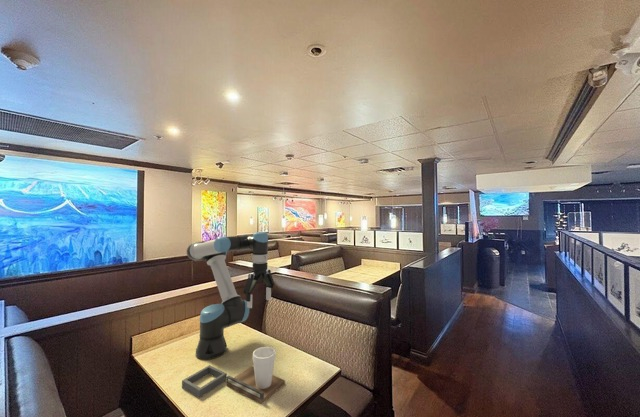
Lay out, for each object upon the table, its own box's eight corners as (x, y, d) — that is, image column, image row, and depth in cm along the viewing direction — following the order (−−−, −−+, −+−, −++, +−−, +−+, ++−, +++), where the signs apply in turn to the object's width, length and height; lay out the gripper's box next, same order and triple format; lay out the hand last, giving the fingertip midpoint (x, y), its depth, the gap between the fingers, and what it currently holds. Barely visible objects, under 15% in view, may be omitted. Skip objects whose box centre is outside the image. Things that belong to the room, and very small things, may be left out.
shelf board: (226, 386, 109) (226, 376, 109) (251, 369, 121) (251, 360, 121) (261, 404, 99) (261, 393, 99) (284, 383, 111) (284, 374, 111)
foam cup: (279, 381, 110) (280, 350, 110) (264, 394, 102) (264, 360, 102) (263, 374, 115) (263, 344, 115) (247, 385, 107) (247, 354, 107)
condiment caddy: (181, 387, 108) (182, 380, 108) (209, 371, 119) (209, 365, 119) (199, 398, 102) (199, 390, 102) (226, 380, 113) (226, 373, 113)
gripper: (247, 267, 121) (246, 312, 120) (281, 259, 142) (280, 298, 142) (236, 265, 125) (235, 309, 124) (270, 258, 146) (270, 296, 146)
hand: (259, 303), depth 133 cm, fingers open, 13 cm apart
